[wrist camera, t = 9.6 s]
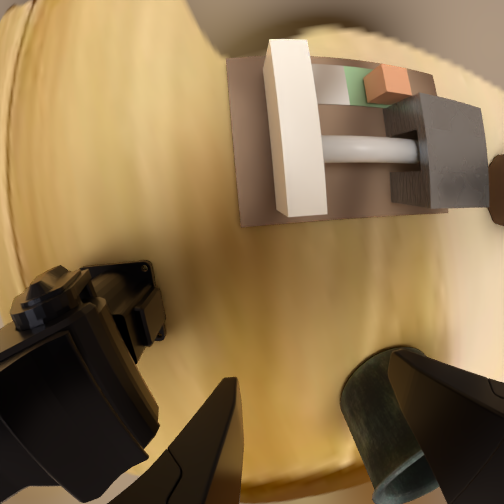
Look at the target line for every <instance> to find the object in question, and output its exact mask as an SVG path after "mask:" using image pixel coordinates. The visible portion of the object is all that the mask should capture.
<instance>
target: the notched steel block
mask: <svg viewBox="0 0 504 504" xmlns="http://www.w3.org/2000/svg"><path fill="white" fill-rule="evenodd" d="M382 110H383V117H384V124H385V131H386V137H390V138H403V139H413V140H418V143H419V152H420V164H421V171H409V172H389V173H390V190H391V202H393V203H399V204H406V205H412V206H418V207H424V208H430V209H436V208H473V207H489V173H488V159H487V149H486V140H485V133H484V126H483V120H482V114H481V108H478V107H474V106H471V105H468V104H464V103H461V102H457V101H454V100H450V99H446V98H442V97H438V96H434V95H429V94H425V93H420V92H419V93H417V94H414V95H412V96H410V97H408V98H406V99H403V100H401V101H399V102H397V103H395V104H393V105H390V106H388V107H386V108H384V109H382Z"/></svg>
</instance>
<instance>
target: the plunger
mask: <svg viewBox="0 0 504 504" xmlns="http://www.w3.org/2000/svg"><path fill="white" fill-rule="evenodd" d="M263 75H264V84H265V93H266V102H267V112H268V121H269V131H270V141H271V152H272V163H273V174H274V186H275V198H276V210H278V211H279V212H281V213H282V214H284V215H285V216H287V217H298V216H311V215H324V214H327V198H326V183H325V170H324V163H348V162H368V163H407V164H417V163H418V162H419V160H420V152H419V143H418V142H417V141H416V140H413V139H403V138H390V137H373V136H343V135H321V129H320V121H319V113H318V105H317V98H316V91H315V84H314V77H313V71H312V65H311V59H310V53H309V48H308V43H307V40H297V39H270V40H269V44H268V49H267V53H266V58H265V62H264V67H263Z"/></svg>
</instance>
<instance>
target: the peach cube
mask: <svg viewBox="0 0 504 504" xmlns="http://www.w3.org/2000/svg"><path fill="white" fill-rule="evenodd" d="M363 80H364V85H365V91H366V97H367V103H376V104H385V105H392V104H394V103H397V102H399V101H401V100H403V99H405V98H407V97H410V96H412V92H411V87H410V82H409V78H408V73H407V69H406V68H401V67H396V66H391V65H386V64H380V65H379V66H378V67H376V68H375V69H374V70H372V71H371V72H370V73H369V74H367V75H366V76H365V77H364V78H363Z"/></svg>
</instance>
